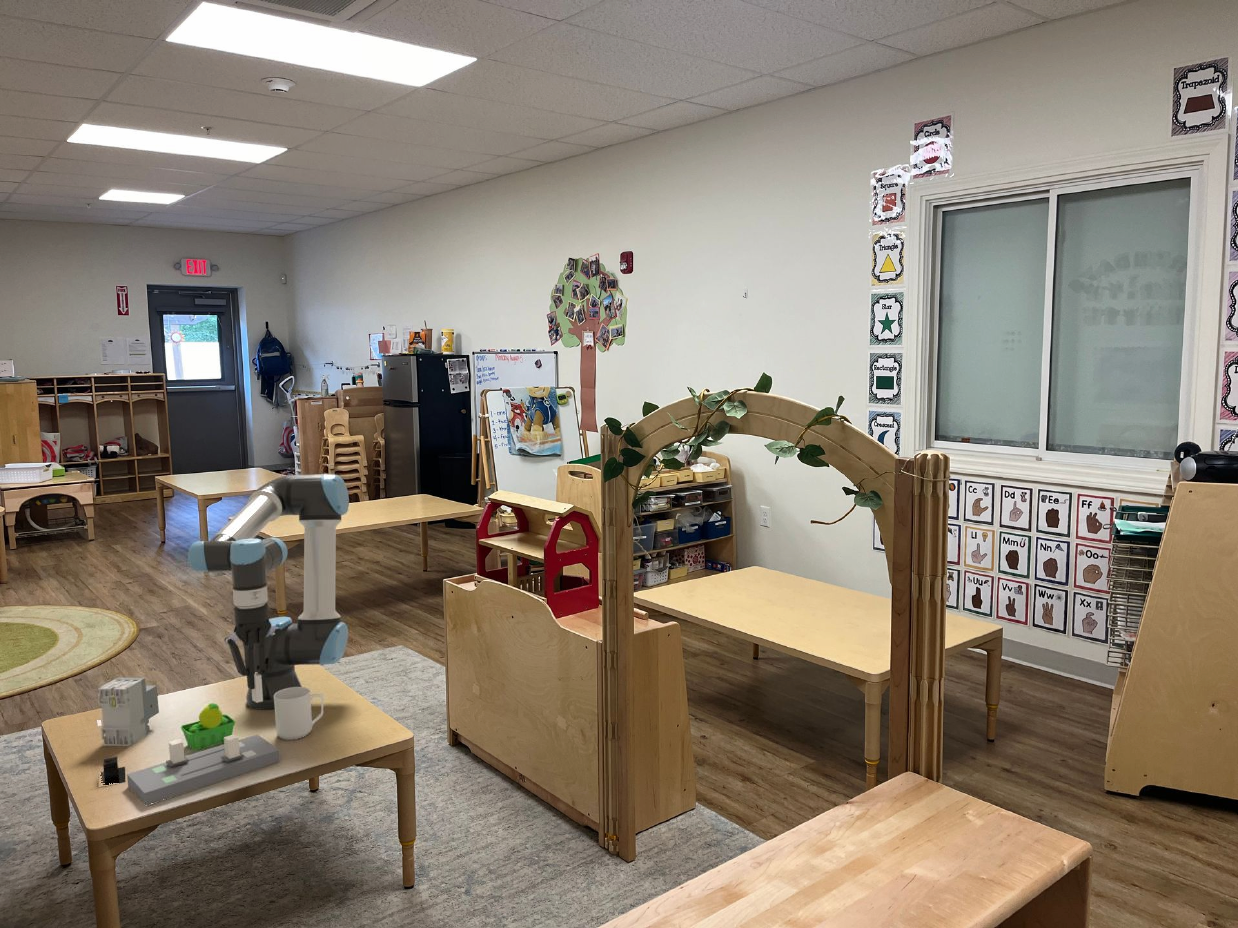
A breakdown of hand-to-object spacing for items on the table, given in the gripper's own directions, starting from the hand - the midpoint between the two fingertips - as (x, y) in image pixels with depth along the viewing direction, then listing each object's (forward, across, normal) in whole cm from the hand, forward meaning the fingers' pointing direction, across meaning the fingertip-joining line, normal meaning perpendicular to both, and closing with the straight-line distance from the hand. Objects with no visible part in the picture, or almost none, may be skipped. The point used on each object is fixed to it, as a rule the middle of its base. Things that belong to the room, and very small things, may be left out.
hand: (257, 700), depth 215 cm
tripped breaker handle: (+12, -7, 0) cm, 14 cm away
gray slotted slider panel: (+16, -12, +4) cm, 20 cm away
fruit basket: (+16, -5, +21) cm, 26 cm away
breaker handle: (+12, -17, +7) cm, 22 cm away
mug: (+16, +14, +10) cm, 23 cm away
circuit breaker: (+16, -17, +42) cm, 48 cm away
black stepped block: (+16, -28, +19) cm, 37 cm away
